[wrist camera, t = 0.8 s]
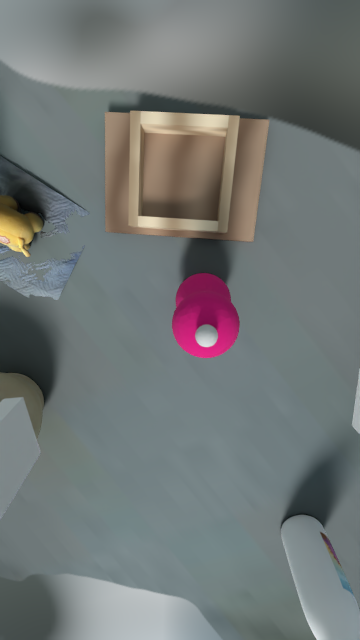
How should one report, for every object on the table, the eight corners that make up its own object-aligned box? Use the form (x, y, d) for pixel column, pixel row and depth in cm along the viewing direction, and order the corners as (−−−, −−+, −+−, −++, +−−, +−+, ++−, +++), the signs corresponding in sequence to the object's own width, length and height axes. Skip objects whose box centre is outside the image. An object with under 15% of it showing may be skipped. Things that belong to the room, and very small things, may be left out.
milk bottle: (275, 541, 50) (324, 723, 31) (284, 509, 48) (343, 683, 29) (316, 547, 50) (391, 736, 31) (327, 516, 48) (415, 696, 29)
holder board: (266, 125, 33) (275, 108, 29) (250, 241, 37) (257, 240, 33) (108, 117, 34) (97, 100, 30) (109, 232, 38) (99, 230, 34)
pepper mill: (172, 277, 39) (147, 304, 19) (221, 265, 38) (246, 280, 19) (184, 323, 40) (172, 390, 21) (231, 313, 40) (263, 373, 20)
